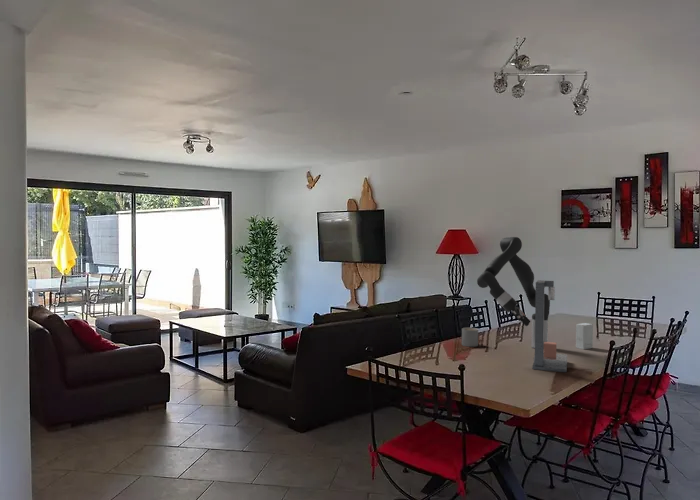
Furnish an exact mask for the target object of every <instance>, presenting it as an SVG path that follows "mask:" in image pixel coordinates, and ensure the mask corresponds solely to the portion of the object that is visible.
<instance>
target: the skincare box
mask: <svg viewBox="0 0 700 500" xmlns="http://www.w3.org/2000/svg"><path fill="white" fill-rule="evenodd" d="M575 325H576V326H575V348H576V349H579V350H588V349H592V348H593V338H594V337H593V334H594V332H593V331H594V324H592V323H588V322H582V323H576V324H575Z"/></svg>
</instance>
